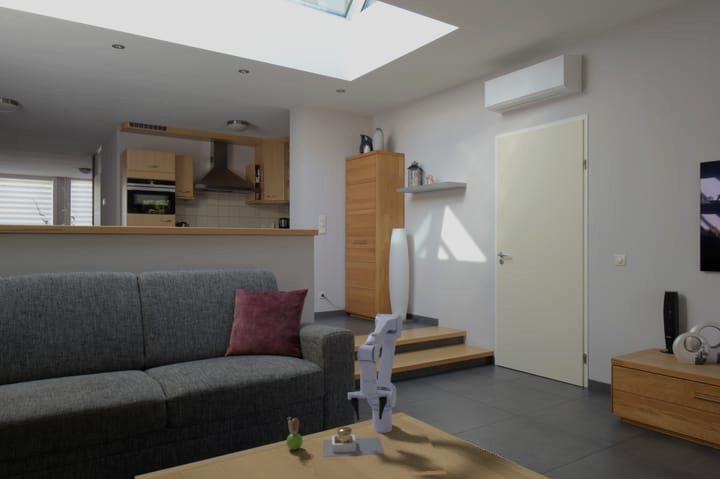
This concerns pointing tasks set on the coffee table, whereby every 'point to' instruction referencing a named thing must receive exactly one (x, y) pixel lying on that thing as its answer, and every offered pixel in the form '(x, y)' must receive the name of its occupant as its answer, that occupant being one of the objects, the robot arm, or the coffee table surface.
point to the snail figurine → (294, 435)
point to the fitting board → (352, 447)
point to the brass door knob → (344, 435)
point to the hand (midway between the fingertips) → (369, 419)
